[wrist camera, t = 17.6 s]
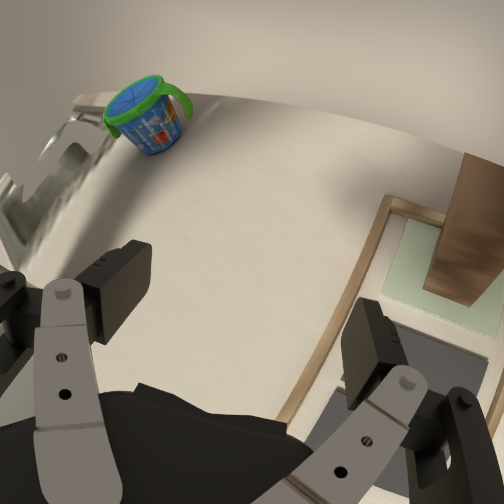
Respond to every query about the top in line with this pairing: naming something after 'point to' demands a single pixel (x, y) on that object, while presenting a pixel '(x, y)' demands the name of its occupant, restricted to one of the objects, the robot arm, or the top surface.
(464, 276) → the walnut block
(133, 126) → the snack cup
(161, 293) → the top surface
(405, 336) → the trap squares
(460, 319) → the pad
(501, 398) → the tray
